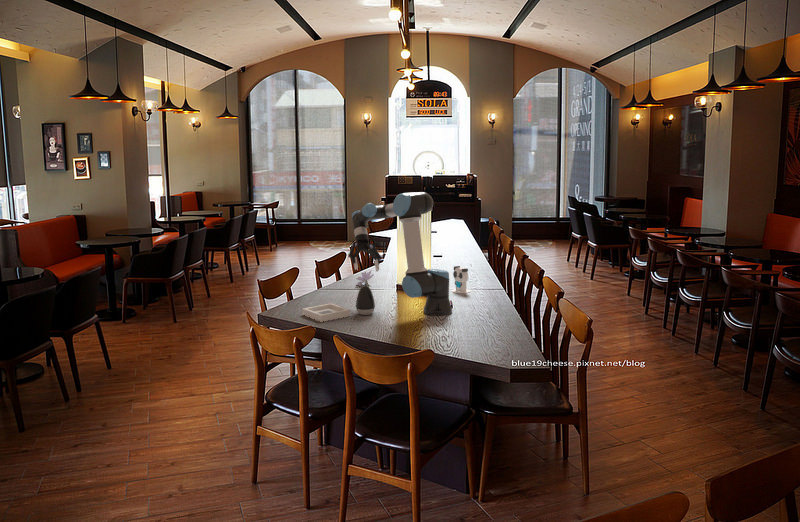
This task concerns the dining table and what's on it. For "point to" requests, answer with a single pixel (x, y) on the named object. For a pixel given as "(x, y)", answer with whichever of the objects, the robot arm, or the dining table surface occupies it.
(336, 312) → the tray
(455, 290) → the panda figurine
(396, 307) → the dining table surface
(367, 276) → the water lily
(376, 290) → the dining table surface
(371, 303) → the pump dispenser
